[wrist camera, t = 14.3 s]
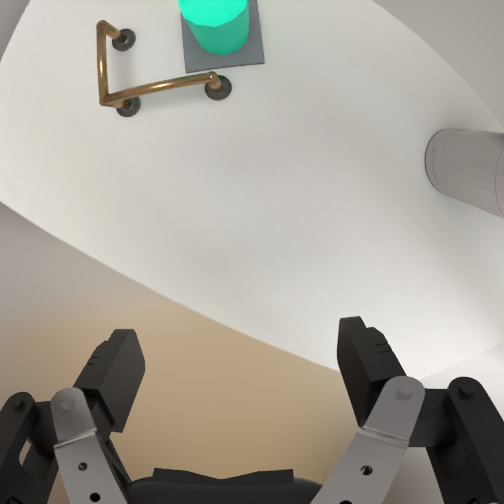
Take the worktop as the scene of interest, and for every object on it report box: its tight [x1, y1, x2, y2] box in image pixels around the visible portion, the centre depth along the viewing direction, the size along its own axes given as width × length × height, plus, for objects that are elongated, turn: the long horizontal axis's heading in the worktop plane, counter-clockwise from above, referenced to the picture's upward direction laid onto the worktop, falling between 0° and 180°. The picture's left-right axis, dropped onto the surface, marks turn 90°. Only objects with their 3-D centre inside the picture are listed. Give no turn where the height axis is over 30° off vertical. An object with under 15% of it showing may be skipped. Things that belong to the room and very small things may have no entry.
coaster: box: [181, 0, 264, 73], centre depth 29 cm, size 9×9×1 cm
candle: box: [178, 0, 249, 55], centre depth 23 cm, size 6×6×12 cm
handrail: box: [96, 20, 232, 117], centre depth 27 cm, size 14×12×8 cm
